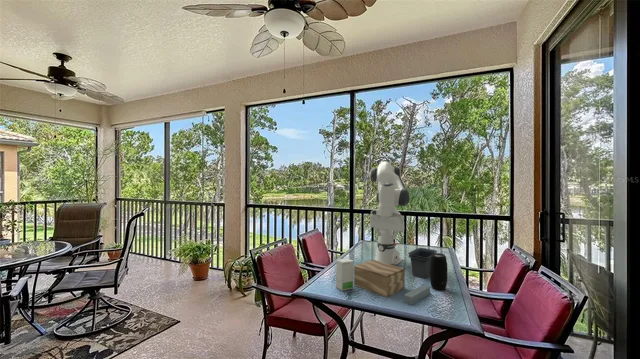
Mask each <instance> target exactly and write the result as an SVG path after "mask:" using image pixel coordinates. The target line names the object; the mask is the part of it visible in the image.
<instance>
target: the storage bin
mask: <svg viewBox="0 0 640 359" xmlns="http://www.w3.org/2000/svg"><path fill="white" fill-rule="evenodd" d="M437 253H439V251H438V250H436V249H432V248H431V249H430V248H427V247H425V248H424V247H417V248H415V249H413V250H411V251H410V252H408V258H410V267H411V275H412V276H413V277H417V278H422V279H426V278H427V277H430V261H431V255H432V254H437Z"/></svg>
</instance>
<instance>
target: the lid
mask: <svg viewBox="0 0 640 359" xmlns="http://www.w3.org/2000/svg"><path fill="white" fill-rule="evenodd" d="M354 268H357V269H360V270H363V271H366V272H370V273H373V274H376V275H379V276H382V277H385V278H388V277H390V276H393V275H395V274H397V273H399V272H402V271H404V270H406V269H405V268H404V267H400V266H397V265H394V264H387V263H383V262H379V261H376V260H375V259H371V260H368V261H365V262H362V263H359V264H355V265H354Z"/></svg>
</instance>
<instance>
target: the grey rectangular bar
mask: <svg viewBox="0 0 640 359" xmlns="http://www.w3.org/2000/svg"><path fill="white" fill-rule="evenodd" d="M430 294H431V285H430V286H429V285H426V284H421V285H420V286H418V287H416V288H414V289H411V291H409V292H407V293H405V294H404V295H403V299H404V300H403V303H406V304H408V305H410V306H413V305H414V304H415V303H417V302H419V301H420V300H422V299H424V298H425V297H427V296H429V295H430Z"/></svg>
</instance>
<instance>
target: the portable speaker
mask: <svg viewBox="0 0 640 359" xmlns="http://www.w3.org/2000/svg"><path fill="white" fill-rule="evenodd" d="M429 281H430V288H432V290H435V291H439V290H443V291H446V289H447V283H448V261H447V256H446V255H445V254H444V253H441V252H440V253H439V252H437V254H432V255H431V261H430V275H429Z"/></svg>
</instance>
